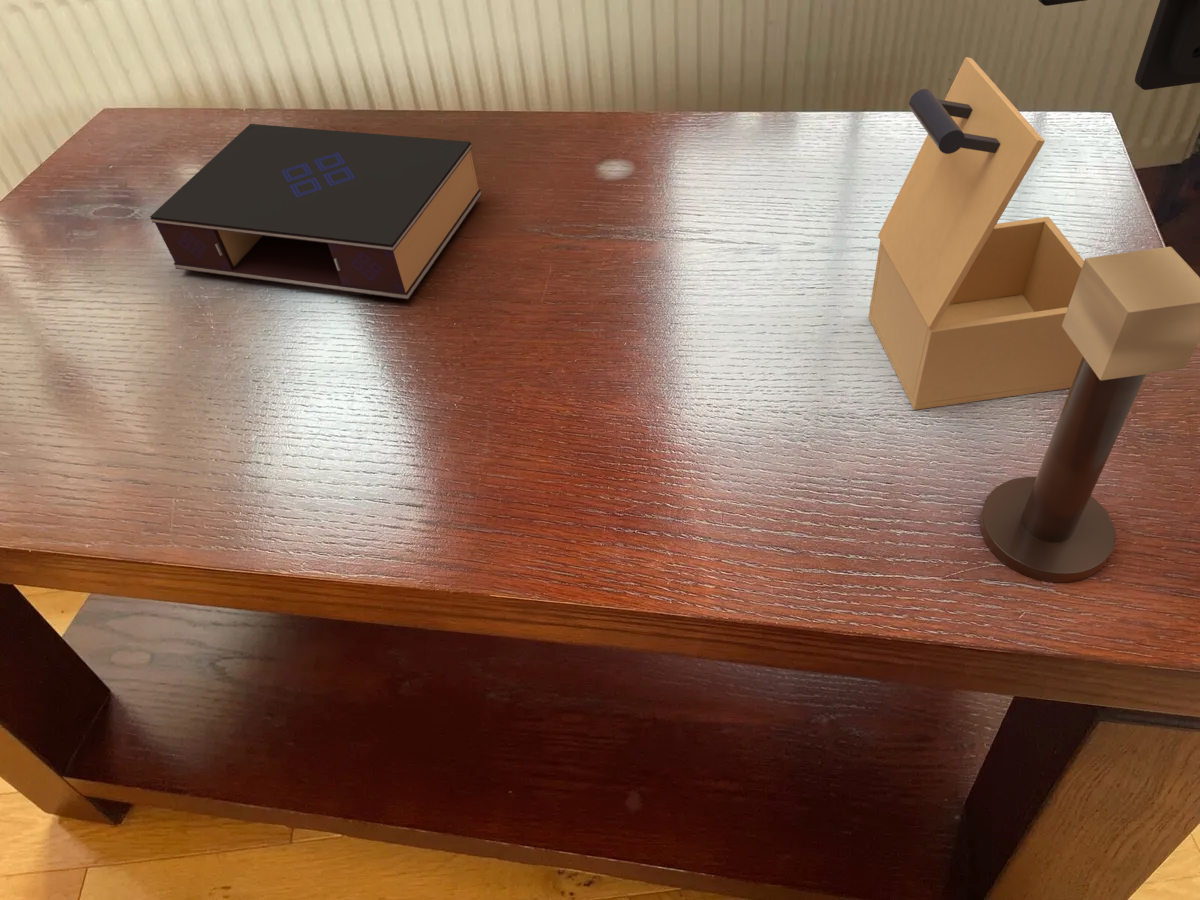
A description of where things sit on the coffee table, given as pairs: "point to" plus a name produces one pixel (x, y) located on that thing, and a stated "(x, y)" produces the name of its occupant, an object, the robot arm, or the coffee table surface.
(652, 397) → the coffee table surface
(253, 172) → the black flat box
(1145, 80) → the robot arm
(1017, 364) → the carton
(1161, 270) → the block
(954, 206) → the carton flap
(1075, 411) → the stand
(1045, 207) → the coffee table surface
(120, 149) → the coffee table surface
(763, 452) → the coffee table surface
